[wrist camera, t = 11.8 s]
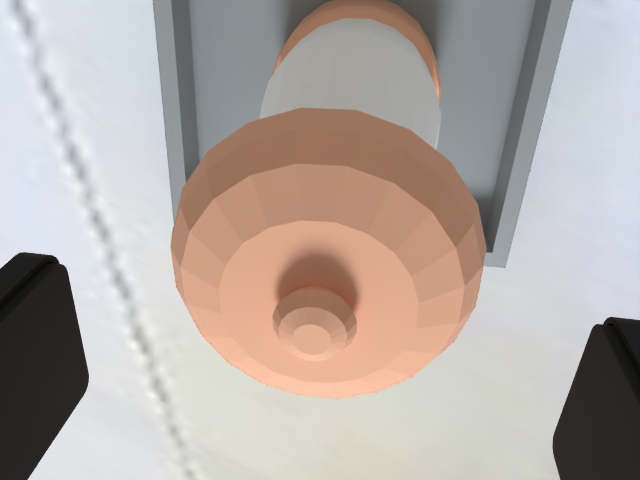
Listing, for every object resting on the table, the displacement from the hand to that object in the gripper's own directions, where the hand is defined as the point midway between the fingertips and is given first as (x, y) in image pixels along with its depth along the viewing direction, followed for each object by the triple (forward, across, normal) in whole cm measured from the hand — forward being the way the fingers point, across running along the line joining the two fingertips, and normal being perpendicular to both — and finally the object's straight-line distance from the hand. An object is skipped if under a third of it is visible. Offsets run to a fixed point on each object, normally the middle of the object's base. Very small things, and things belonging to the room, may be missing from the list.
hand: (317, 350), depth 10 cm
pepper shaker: (+20, +1, 0) cm, 20 cm away
